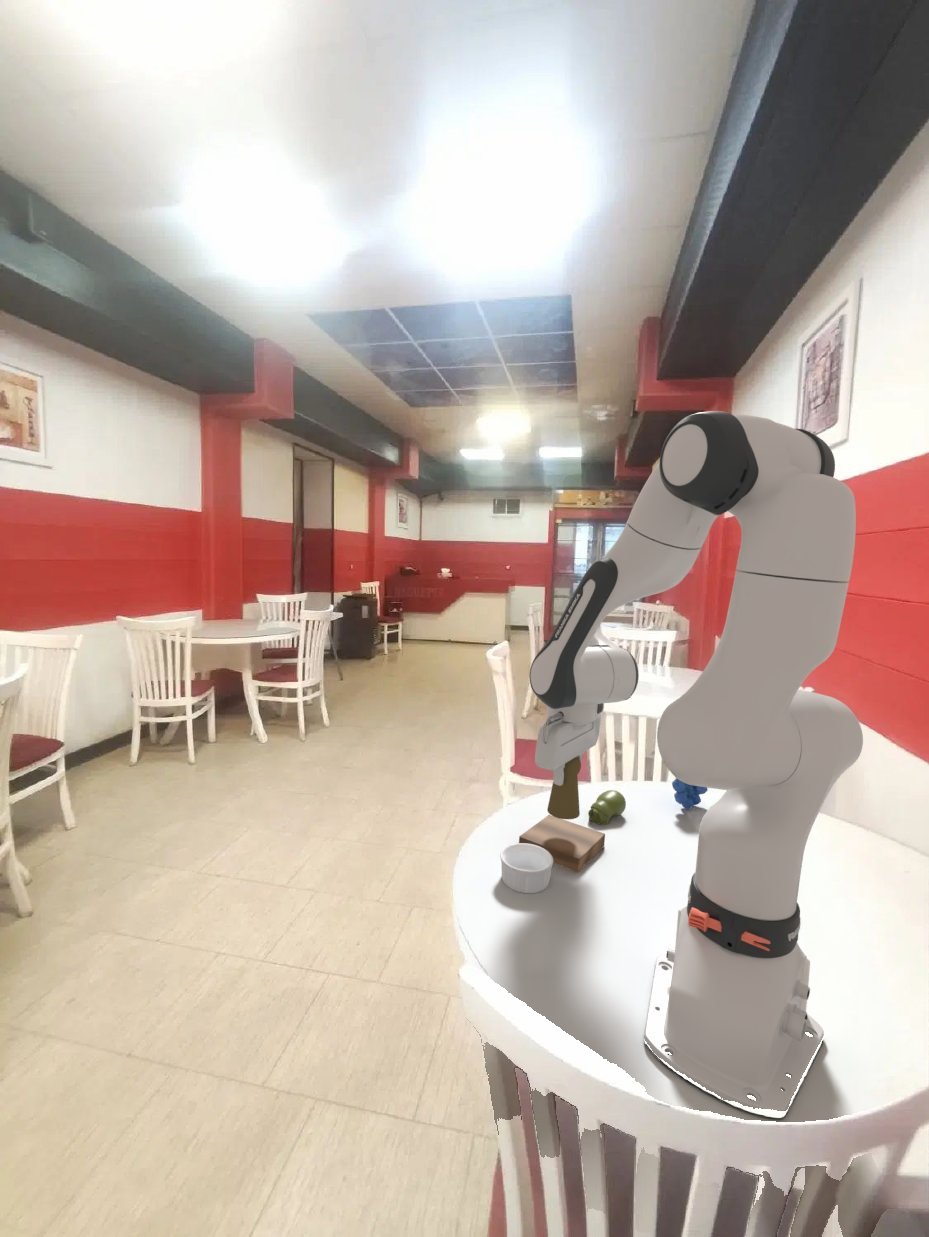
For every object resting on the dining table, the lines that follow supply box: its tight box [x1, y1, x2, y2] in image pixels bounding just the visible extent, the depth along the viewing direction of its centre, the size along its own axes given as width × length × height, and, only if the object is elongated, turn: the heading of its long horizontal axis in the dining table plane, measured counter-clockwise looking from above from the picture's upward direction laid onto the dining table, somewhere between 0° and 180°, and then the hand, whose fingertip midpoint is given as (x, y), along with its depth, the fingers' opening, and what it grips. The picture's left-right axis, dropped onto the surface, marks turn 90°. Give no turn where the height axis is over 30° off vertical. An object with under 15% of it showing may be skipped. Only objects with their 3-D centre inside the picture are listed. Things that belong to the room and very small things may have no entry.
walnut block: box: [518, 814, 606, 873], centre depth 103 cm, size 12×12×2 cm
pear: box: [587, 789, 627, 826], centre depth 116 cm, size 6×5×10 cm
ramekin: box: [499, 842, 554, 894], centre depth 91 cm, size 9×9×4 cm
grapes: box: [671, 778, 709, 810], centre depth 122 cm, size 12×7×12 cm, turn 126°
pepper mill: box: [547, 757, 582, 820], centre depth 102 cm, size 6×6×11 cm
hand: (565, 779), depth 102 cm, fingers closed on pepper mill, 4 cm apart
